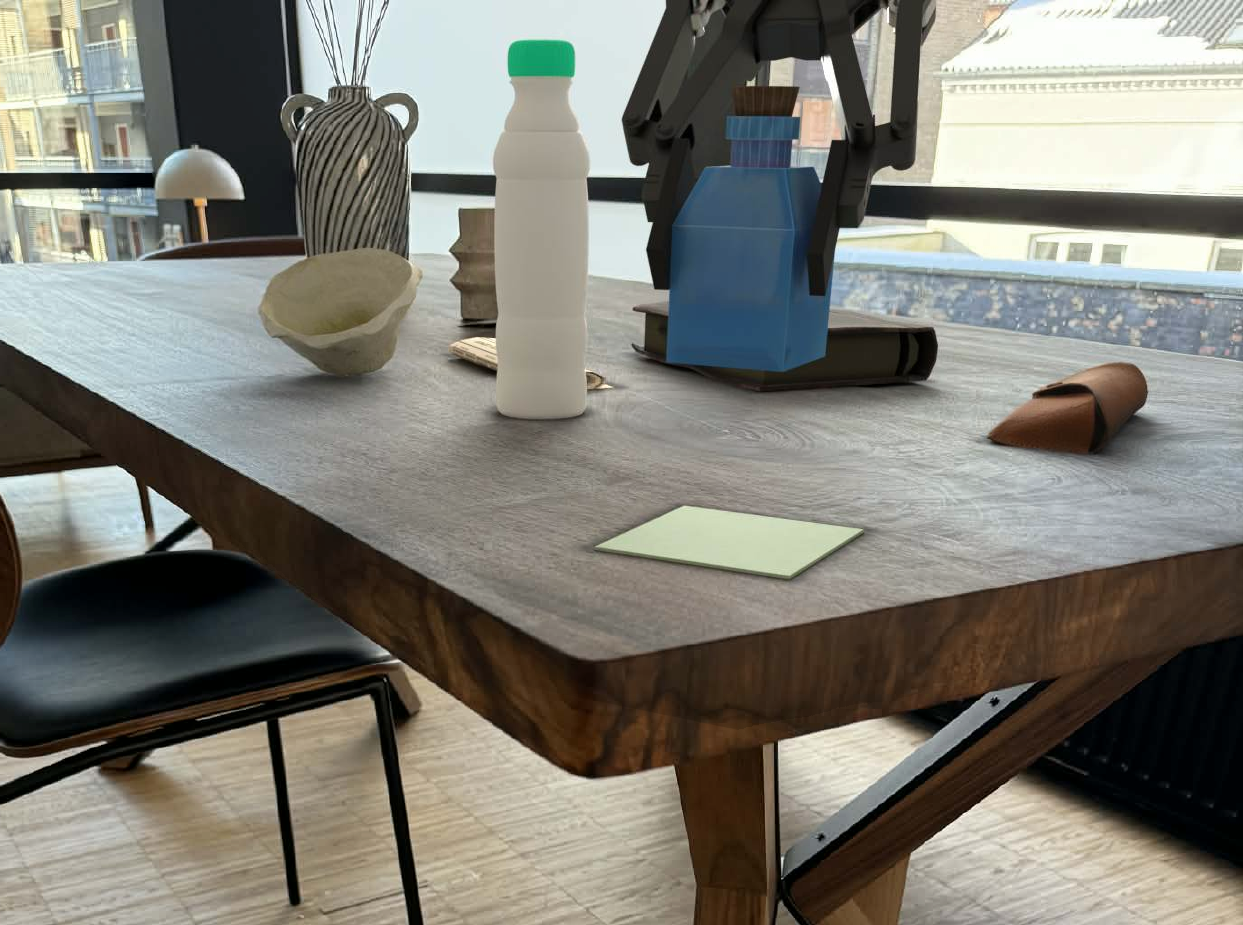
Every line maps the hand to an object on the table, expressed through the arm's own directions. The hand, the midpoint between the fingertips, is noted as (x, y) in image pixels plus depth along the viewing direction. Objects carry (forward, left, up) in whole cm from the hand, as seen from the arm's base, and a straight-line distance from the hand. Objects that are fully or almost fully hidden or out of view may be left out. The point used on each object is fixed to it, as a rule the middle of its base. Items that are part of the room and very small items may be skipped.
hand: (736, 272), depth 68 cm
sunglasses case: (-7, -47, -14) cm, 49 cm away
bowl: (+56, -41, -14) cm, 71 cm away
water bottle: (+30, -32, -14) cm, 46 cm away
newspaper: (+42, -50, -14) cm, 67 cm away
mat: (+1, -3, -14) cm, 14 cm away
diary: (+24, -64, -14) cm, 70 cm away
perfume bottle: (+1, -3, -4) cm, 6 cm away
